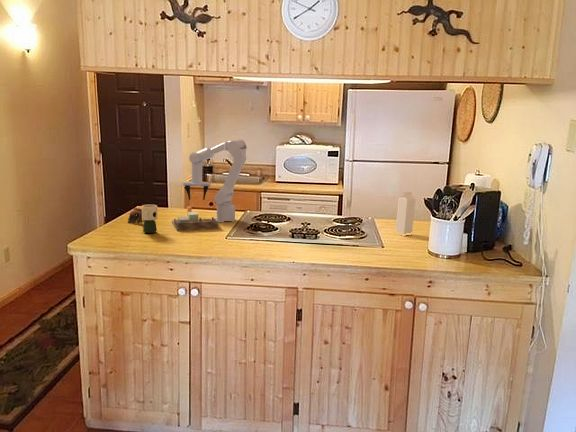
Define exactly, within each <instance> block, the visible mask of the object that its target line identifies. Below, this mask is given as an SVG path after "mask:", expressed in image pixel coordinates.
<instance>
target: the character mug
mask: <svg viewBox="0 0 576 432" xmlns="http://www.w3.org/2000/svg"><path fill="white" fill-rule="evenodd" d="M141 209H142V221H143V227H142V228H143V229H142V232H143V233H148V234H154V233H157V232H158V230H157V223H156V220H158V205H156V204H143V205H141Z"/></svg>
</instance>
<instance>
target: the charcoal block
mask: <svg viewBox="0 0 576 432" xmlns="http://www.w3.org/2000/svg"><path fill="white" fill-rule="evenodd" d="M177 220H178V223H181V222H189V219H188V218H187V216H177Z"/></svg>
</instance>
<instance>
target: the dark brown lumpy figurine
mask: <svg viewBox="0 0 576 432" xmlns="http://www.w3.org/2000/svg"><path fill="white" fill-rule="evenodd" d="M142 221H143V219H142V208H138V207H134V208H133V210H131V211H130V212H129V217H128V218H127V223H130V224H132V225H133V224H134V225H136V223H142Z"/></svg>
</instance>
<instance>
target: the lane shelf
mask: <svg viewBox="0 0 576 432" xmlns="http://www.w3.org/2000/svg"><path fill="white" fill-rule="evenodd" d="M188 219H189V218H188ZM171 223H172V225H173V227H174V228H175V230H176V231H177V232H188V231H203V230H204V231H205V230H207V231H208V229H209V230H219V229H220V228H219V222H218V221H216V220H215V217H214V216H213V217H211V218H202V217H198V222H191V221H190V220H189V222H181V223H178V219H176V218H174V219H173V220H171Z"/></svg>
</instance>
